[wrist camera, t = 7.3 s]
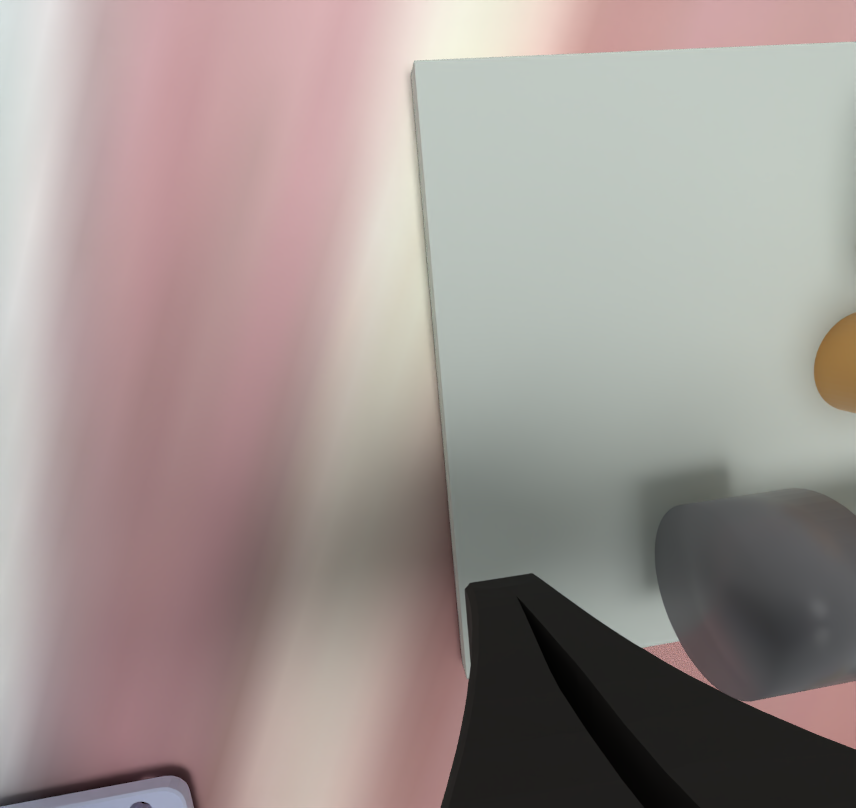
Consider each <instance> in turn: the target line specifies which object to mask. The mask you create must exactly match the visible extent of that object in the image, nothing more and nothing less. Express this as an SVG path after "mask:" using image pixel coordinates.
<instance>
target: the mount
mask: <svg viewBox="0 0 856 808" xmlns="http://www.w3.org/2000/svg"><path fill="white" fill-rule="evenodd" d="M411 80H412V91H413V103H414V114H415V126H416V137H417V149H418V160H419V172H420V183H421V195H422V206H423V218H424V229H425V241H426V252H427V264H428V275H429V287H430V298H431V310H432V321H433V333H434V344H435V356H436V367H437V379H438V390H439V402H440V413H441V425H442V436H443V448H444V459H445V471H446V482H447V494H448V505H449V517H450V528H451V540H452V551H453V563H454V574H455V586H456V597H457V609H458V620H459V632H460V643H461V655H462V663H463V667H464V670H465V674H466V677H467V679H469V675H470V667H471V663H470V650H469V638H468V626H467V614H466V602H465V590H464V589H465V588H466V587H467V586H468V584H469V583H472V582H478V581H485V580H491V579H497V578H504V577H510V576H517V575H523V574H530V573H533V574H534V575H536V576H537V577H539V578H540V579H542V580H543V581H544V582H546V583H547V584H549V585H550V586H551V587H553V588H554V589H555V590H557V591H558V592H560V593H561V594H562V595H564V596H565V597H566V598H568V599H569V600H571V601H572V602H573V603H575V604H576V605H578V606H579V607H580V608H582V609H583V610H585V611H586V612H587V613H589V614H590V615H592V616H593V617H595V618H596V619H598V620H599V621H600V622H602V623H603V624H605V625H606V626H608V627H609V628H611V629H612V630H614V631H615V632H617V633H619V634H620V635H622V636H623V637H625V638H626V639H628V640H629V641H631V642H633V643H634V644H636V645H638V646H639V647H641V648H644V647H649V646H655V645H660V644H666V643H672V642H677V641H679V639H678V638H677V636H676V633H675V631H674V629H673V627H672V625H671V623H670V620H669V618H668V615H667V613H666V610H665V607H664V604H663V601H662V597H661V594H660V590H659V585H658V581H657V575H656V567H655V540H656V534H657V530H658V527H659V524H660V522H661V520H662V518H663V516H664V515H665V514H666V513H667V512H668V511H669V510H670V509H671V508H673V507H675V506H677V505H681V504H688V503H694V502H701V501H708V500H715V499H722V498H728V497H735V496H742V495H749V494H756V493H762V492H769V491H776V490H783V489H791V488H801V489H807V490H812V491H815V492H818V493H821V494H824V495H826V496H828V497H830V498H832V499H834V500H835V501H837V502H838V503H840V504H842V505H843V506H845V507H846V508H847V509H849V510H850V511H851V512H852V513H853V514H855V515H856V413H852V412H848V411H843V410H839V409H837V408H834V407H832V406H831V405H829V404H828V403H827V402H826V401H825V400H824V399H823V398H822V397H821V395H820V393H819V392H818V389H817V387H816V384H815V379H814V364H815V358H816V354H817V351H818V349H819V346H820V344H821V342H822V340H823V339H824V337H825V336H826V334H827V333H828V332H829V331H830V329H831V328H832V327H833V326H834V325H835V324H836V323H838V322H839V321H840V320H841V319H843V318H845V317H846V316H848V315H850V314H852V313H855V312H856V42H837V43H813V44H790V45H767V46H744V47H721V48H697V49H674V50H651V51H628V52H605V53H581V54H558V55H535V56H512V57H489V58H465V59H442V60H419V61H414V64H413V68H412V72H411Z"/></svg>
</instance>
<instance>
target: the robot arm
mask: <svg viewBox="0 0 856 808" xmlns="http://www.w3.org/2000/svg"><path fill="white" fill-rule="evenodd" d="M464 590H465V602H466V614H467V626H468V638H469V650H470V663H471V667H470V675H469V683H468V692H467V699H466V705H465V711H464V716H463V721H462V726H461V731H460V736H459V740H458V745H457V749H456V753H455V757H454V761H453V765H452V769H451V772H450V776H449V780H448V784H447V788H446V791H445V794H444V798H443V801H442V805H441V808H856V750H855V749H853V748H850V747H848V746H845V745H842V744H840V743H837V742H835V741H832V740H830V739H827V738H824V737H822V736H819V735H817V734H814V733H812V732H810V731H807V730H805V729H803V728H800V727H798V726H796V725H793V724H791V723H788V722H786V721H784V720H781V719H779V718H777V717H774V716H772V715H770V714H767V713H765V712H763V711H761V710H758V709H756V708H754V707H752V706H750V705H748V704H745V703H743V702H741V701H739V700H737V699H735V698H733V697H731V696H729V695H727V694H725V693H723V692H721V691H719V690H717V689H715V688H713V687H711V686H709V685H707V684H705V683H703V682H701V681H699V680H697V679H695V678H693V677H691V676H689V675H687V674H686V673H684V672H682V671H680V670H678V669H677V668H675V667H673V666H671V665H669V664H668V663H666V662H664V661H663V660H661V659H659V658H658V657H656V656H654V655H653V654H651V653H649V652H648V651H646V650H644V649H643V648H641V647H639V646H638V645H636V644H634V643H633V642H631V641H629V640H628V639H626V638H625V637H623V636H622V635H620V634H619V633H617V632H615V631H614V630H612V629H611V628H609V627H608V626H606V625H605V624H603V623H602V622H600V621H599V620H598V619H596V618H595V617H593V616H592V615H590V614H589V613H587V612H586V611H585V610H583V609H582V608H580V607H579V606H578V605H576V604H575V603H573V602H572V601H571V600H569V599H568V598H566V597H565V596H564V595H562V594H561V593H560V592H558V591H557V590H555V589H554V588H553V587H551V586H550V585H549V584H547V583H546V582H544V581H543V580H542V579H540V578H539V577H537V576H536V575H534V574H533V573H530V574H523V575H517V576H510V577H504V578H497V579H491V580H485V581H478V582H472V583H469V584H468V586H467V587H466V588H465V589H464ZM141 802H146V803H148V804H143V803H141ZM0 808H194V806H193V802H192V797H191V793H190V789H189V787H188V785H187V783H186V782H185V781H184V780H182V779H181V778H179V777H176V776H161V777H156V778H151V779H145V780H140V781H135V782H129V783H124V784H119V785H113V786H108V787H103V788H97V789H92V790H87V791H81V792H76V793H71V794H65V795H60V796H55V797H49V798H44V799H39V800H33V801H28V802H23V803H17V804H12V805H6V806H1V807H0Z"/></svg>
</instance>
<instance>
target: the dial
mask: <svg viewBox="0 0 856 808" xmlns="http://www.w3.org/2000/svg"><path fill="white" fill-rule="evenodd" d="M814 379H815V384H816V387H817V389H818V392H819V393H820V395H821V397H822V398H823V399H824V400H825V401H826V402H827V403H828V404H829V405H831V406H832V407H834V408H837V409H839V410H843V411H848V412H852V413H856V312H855V313H852V314H850V315H848V316H846V317H845V318H843V319H841V320H840V321H839V322H838V323H836V324H835V325H834V326H833V327H832V328H831V329H830V331H829V332H828V333H827V334H826V336H825V337H824V339H823V340H822V342H821V344H820V346H819V349H818V351H817V354H816V358H815V364H814Z"/></svg>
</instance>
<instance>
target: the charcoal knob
mask: <svg viewBox="0 0 856 808" xmlns="http://www.w3.org/2000/svg"><path fill="white" fill-rule="evenodd" d="M655 567H656V575H657V581H658V585H659V590H660V594H661V597H662V601H663V604H664V607H665V610H666V613H667V615H668V618H669V620H670V623H671V625H672V627H673V629H674V631H675V633H676V636H677V638H678V639H679V641H680V643H681V645H682V647H683V648H684V650H685V651H686V653H687V655H688V656H689V658H690V659H691V660H692V662H693V663H694V665H695V666H696V667H697V668H698V670H699V671H700V672H701V673H702V674H703V676H704V677H705V678H706V679H707V680H708V681H709V682H710V683H711V684H713V685H714V686H715V687H716V688H717V689H718V690H720V691H721V692H723V693H725V694H727V695H729V696H731V697H733V698H735V699H737V700H741V701H755V700H760V699H766V698H771V697H776V696H781V695H786V694H791V693H796V692H801V691H807V690H812V689H817V688H822V687H827V686H832V685H837V684H842V683H847V682H853V681H856V515H855V514H853V513H852V512H851V511H850V510H849V509H847V508H846V507H845V506H843V505H842V504H840V503H838V502H837V501H835V500H834V499H832V498H830V497H828V496H826V495H824V494H821V493H818V492H815V491H812V490H807V489H801V488H791V489H783V490H776V491H769V492H762V493H756V494H749V495H742V496H735V497H728V498H722V499H715V500H708V501H701V502H694V503H688V504H681V505H677V506H675V507H673V508H671V509H670V510H669V511H668V512H667V513H666V514H665V515H664V516H663V518H662V520H661V522H660V524H659V527H658V530H657V534H656V540H655Z"/></svg>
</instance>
